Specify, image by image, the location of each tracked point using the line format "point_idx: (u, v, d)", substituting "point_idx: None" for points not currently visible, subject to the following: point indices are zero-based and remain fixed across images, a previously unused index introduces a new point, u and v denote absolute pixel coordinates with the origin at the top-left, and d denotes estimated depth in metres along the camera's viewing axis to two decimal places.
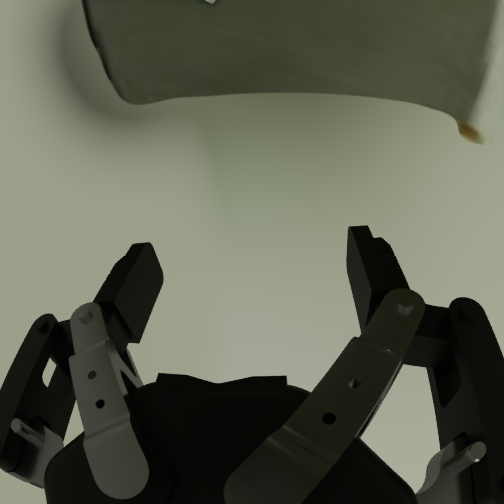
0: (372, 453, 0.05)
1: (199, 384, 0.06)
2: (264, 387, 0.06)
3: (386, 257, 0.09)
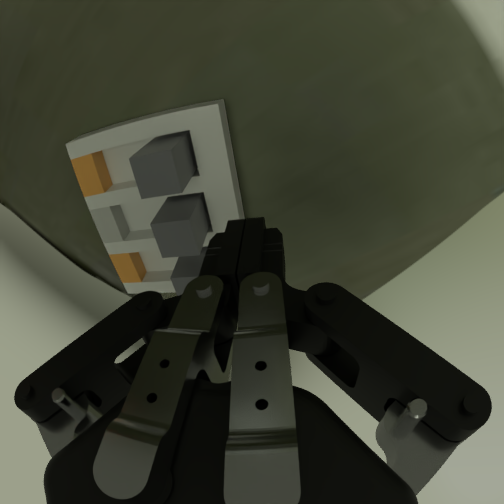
0: (372, 453, 0.05)
1: (199, 384, 0.06)
2: None
3: (272, 245, 0.11)
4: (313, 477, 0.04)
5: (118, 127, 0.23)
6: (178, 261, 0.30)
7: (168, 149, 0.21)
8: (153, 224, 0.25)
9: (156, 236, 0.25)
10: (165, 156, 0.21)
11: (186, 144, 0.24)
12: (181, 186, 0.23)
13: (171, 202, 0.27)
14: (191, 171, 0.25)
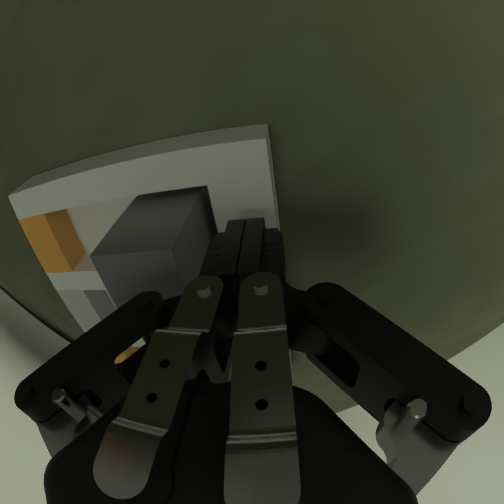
0: (372, 453, 0.05)
1: (199, 384, 0.06)
2: None
3: (272, 245, 0.11)
4: (313, 477, 0.04)
5: (79, 174, 0.13)
6: None
7: (165, 246, 0.10)
8: None
9: None
10: (160, 261, 0.10)
11: (200, 213, 0.13)
12: None
13: None
14: None
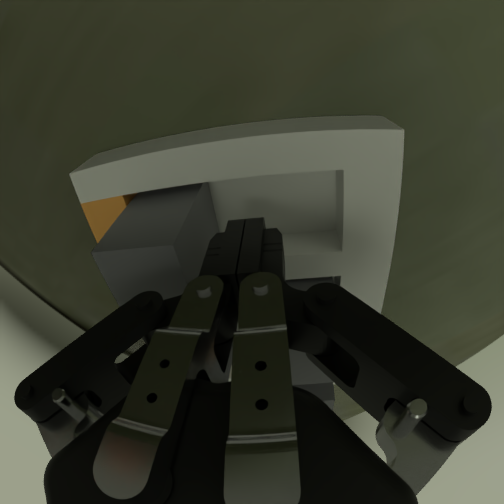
0: (372, 453, 0.05)
1: (199, 384, 0.06)
2: None
3: (272, 245, 0.11)
4: (313, 477, 0.04)
5: (186, 148, 0.12)
6: None
7: (167, 242, 0.10)
8: None
9: None
10: (162, 256, 0.10)
11: (200, 210, 0.13)
12: None
13: None
14: None
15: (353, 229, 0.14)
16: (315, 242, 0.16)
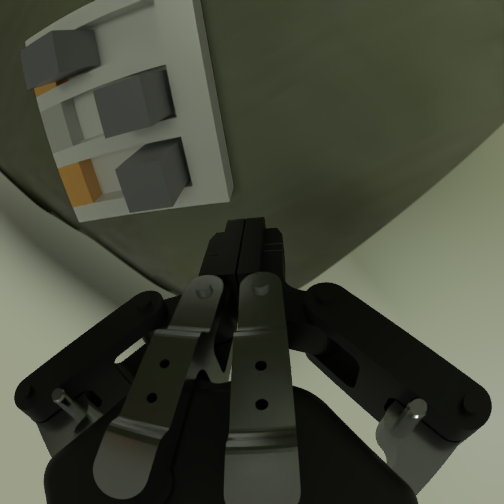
0: (372, 453, 0.05)
1: (200, 384, 0.06)
2: None
3: (272, 245, 0.11)
4: (313, 477, 0.04)
5: (79, 9, 0.15)
6: (131, 156, 0.21)
7: (50, 32, 0.13)
8: (96, 91, 0.16)
9: (99, 107, 0.16)
10: (47, 38, 0.13)
11: (81, 37, 0.16)
12: (60, 66, 0.15)
13: None
14: (83, 62, 0.17)
15: (165, 28, 0.17)
16: None
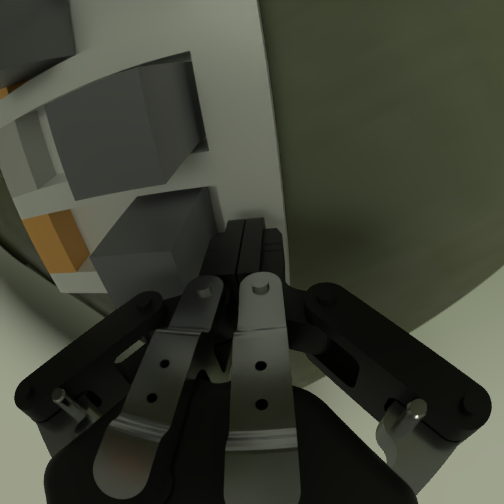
0: (372, 453, 0.05)
1: (199, 384, 0.06)
2: None
3: (272, 245, 0.11)
4: (313, 477, 0.04)
5: None
6: (118, 222, 0.12)
7: None
8: (51, 105, 0.07)
9: (57, 138, 0.08)
10: None
11: (42, 9, 0.07)
12: None
13: None
14: (43, 51, 0.08)
15: None
16: None
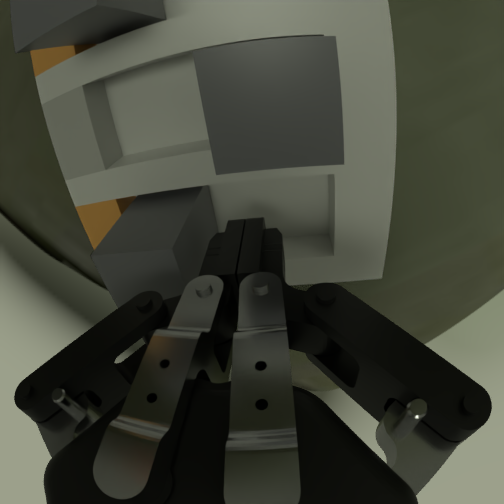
0: (372, 453, 0.05)
1: (200, 384, 0.06)
2: None
3: (272, 245, 0.11)
4: (313, 477, 0.04)
5: None
6: (119, 221, 0.12)
7: None
8: (203, 53, 0.06)
9: (207, 94, 0.07)
10: None
11: None
12: None
13: None
14: (142, 5, 0.08)
15: None
16: None
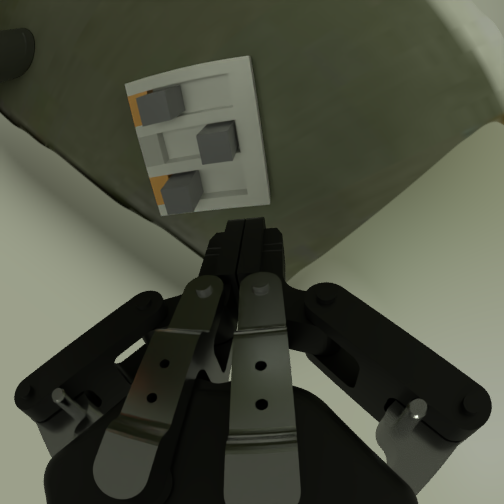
0: (372, 453, 0.05)
1: (199, 384, 0.06)
2: None
3: (272, 245, 0.11)
4: (313, 477, 0.04)
5: (172, 71, 0.31)
6: (167, 181, 0.38)
7: (162, 90, 0.29)
8: (198, 136, 0.32)
9: (199, 146, 0.32)
10: (160, 95, 0.29)
11: (176, 92, 0.32)
12: (170, 115, 0.30)
13: (209, 127, 0.34)
14: (179, 111, 0.33)
15: (235, 96, 0.32)
16: (223, 107, 0.34)
